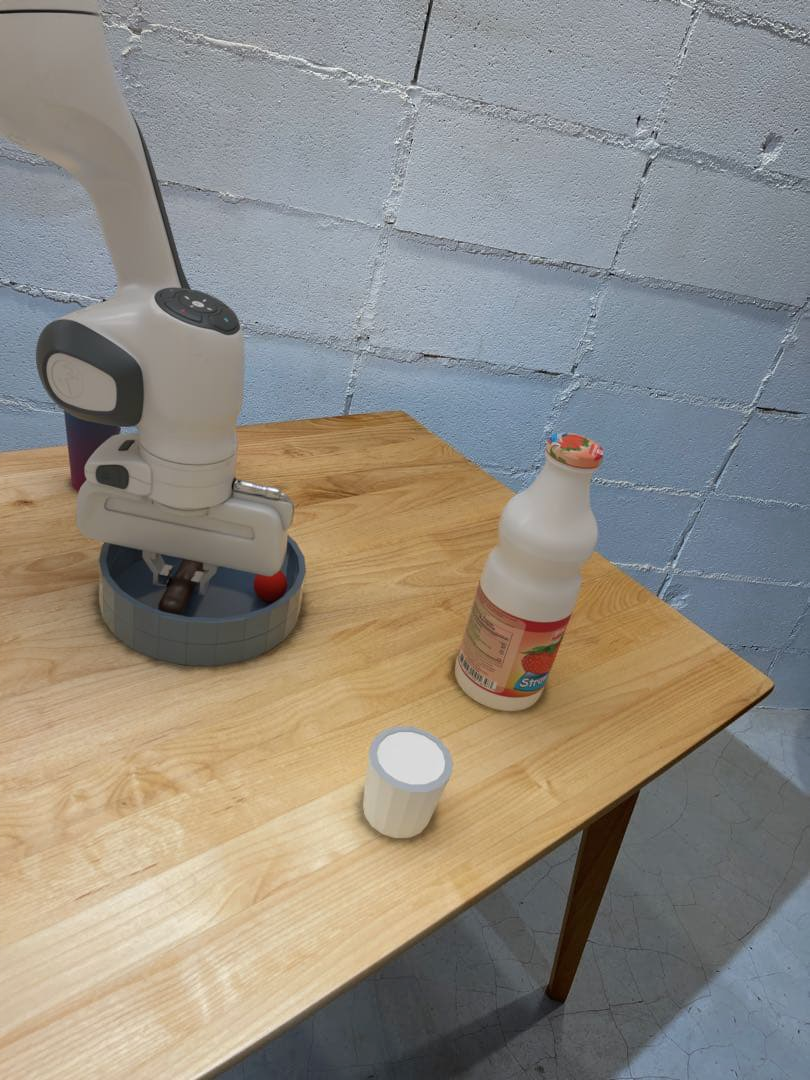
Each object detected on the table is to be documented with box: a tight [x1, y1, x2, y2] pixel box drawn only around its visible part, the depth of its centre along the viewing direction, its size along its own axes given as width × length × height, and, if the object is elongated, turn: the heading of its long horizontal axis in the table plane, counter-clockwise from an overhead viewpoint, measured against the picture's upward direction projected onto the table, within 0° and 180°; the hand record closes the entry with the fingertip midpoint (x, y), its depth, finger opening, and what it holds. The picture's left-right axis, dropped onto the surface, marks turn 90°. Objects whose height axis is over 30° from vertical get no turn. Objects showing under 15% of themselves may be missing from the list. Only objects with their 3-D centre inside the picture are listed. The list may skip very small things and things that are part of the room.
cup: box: [63, 410, 121, 492], centre depth 97 cm, size 7×7×15 cm
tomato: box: [254, 571, 287, 601], centre depth 88 cm, size 4×4×4 cm
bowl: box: [98, 533, 307, 667], centre depth 85 cm, size 20×20×6 cm
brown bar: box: [158, 559, 205, 616], centre depth 86 cm, size 13×3×3 cm, turn 176°
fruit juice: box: [454, 431, 604, 712], centre depth 78 cm, size 9×9×28 cm
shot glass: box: [362, 725, 454, 839], centre depth 67 cm, size 7×7×7 cm
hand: (180, 586), depth 84 cm, fingers closed on brown bar, 2 cm apart
